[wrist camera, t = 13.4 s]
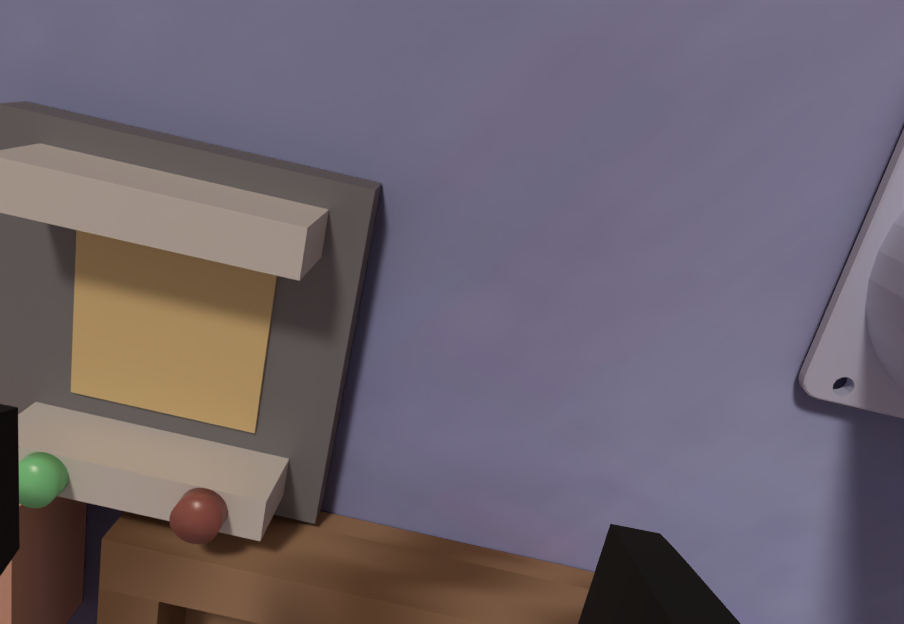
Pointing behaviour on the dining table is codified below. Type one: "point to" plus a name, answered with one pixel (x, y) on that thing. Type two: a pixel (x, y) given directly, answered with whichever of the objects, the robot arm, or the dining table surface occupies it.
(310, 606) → the trough
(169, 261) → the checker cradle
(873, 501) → the dining table surface
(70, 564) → the small wooden tray
